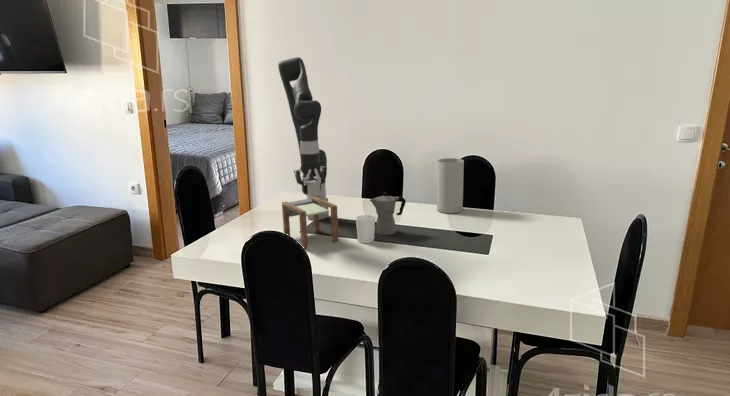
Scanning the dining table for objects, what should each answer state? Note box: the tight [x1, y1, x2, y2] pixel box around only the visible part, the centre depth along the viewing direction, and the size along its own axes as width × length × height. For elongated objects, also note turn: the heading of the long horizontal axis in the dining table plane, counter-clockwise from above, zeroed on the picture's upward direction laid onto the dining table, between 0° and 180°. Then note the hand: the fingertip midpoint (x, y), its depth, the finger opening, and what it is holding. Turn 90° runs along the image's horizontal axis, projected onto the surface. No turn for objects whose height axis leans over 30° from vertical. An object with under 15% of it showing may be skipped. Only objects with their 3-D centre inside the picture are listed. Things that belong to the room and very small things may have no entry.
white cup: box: [355, 214, 376, 244], centre depth 212 cm, size 8×8×10 cm
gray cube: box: [306, 180, 320, 197], centre depth 208 cm, size 5×5×5 cm
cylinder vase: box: [436, 157, 465, 215], centre depth 251 cm, size 12×12×25 cm
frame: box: [281, 196, 339, 250], centre depth 215 cm, size 16×19×16 cm
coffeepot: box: [369, 191, 407, 236], centre depth 222 cm, size 15×9×18 cm, turn 92°
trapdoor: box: [287, 198, 330, 218], centre depth 216 cm, size 20×11×5 cm, turn 32°
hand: (311, 192), depth 209 cm, fingers closed on gray cube, 5 cm apart
